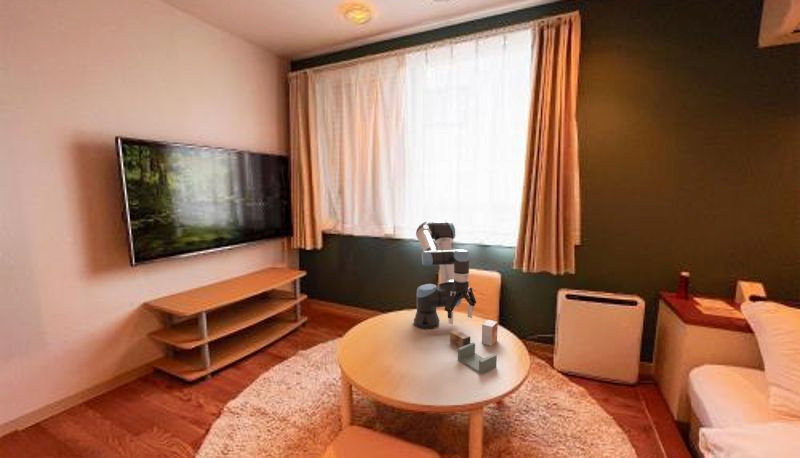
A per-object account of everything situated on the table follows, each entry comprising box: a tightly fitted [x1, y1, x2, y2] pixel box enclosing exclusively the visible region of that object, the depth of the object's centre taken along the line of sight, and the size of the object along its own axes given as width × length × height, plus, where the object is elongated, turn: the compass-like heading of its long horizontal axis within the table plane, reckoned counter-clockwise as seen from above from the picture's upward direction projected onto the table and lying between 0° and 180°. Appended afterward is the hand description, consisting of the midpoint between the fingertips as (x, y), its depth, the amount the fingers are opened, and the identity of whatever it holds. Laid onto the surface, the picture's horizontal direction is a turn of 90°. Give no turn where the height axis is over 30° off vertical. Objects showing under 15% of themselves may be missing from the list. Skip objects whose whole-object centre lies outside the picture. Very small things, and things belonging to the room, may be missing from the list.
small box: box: [481, 319, 499, 347], centre depth 173 cm, size 8×6×10 cm
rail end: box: [449, 329, 471, 348], centre depth 170 cm, size 10×5×6 cm, turn 34°
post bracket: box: [457, 342, 498, 375], centre depth 153 cm, size 14×10×6 cm
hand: (460, 320), depth 168 cm, fingers open, 13 cm apart
